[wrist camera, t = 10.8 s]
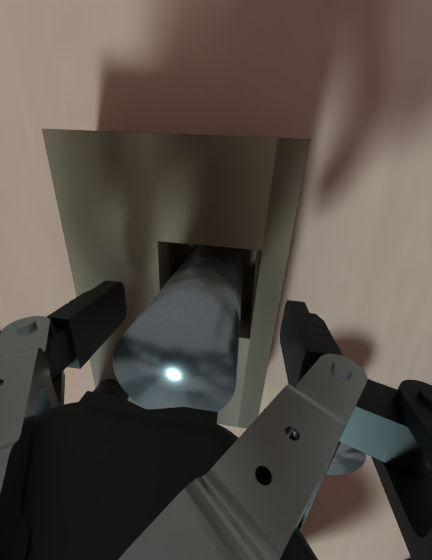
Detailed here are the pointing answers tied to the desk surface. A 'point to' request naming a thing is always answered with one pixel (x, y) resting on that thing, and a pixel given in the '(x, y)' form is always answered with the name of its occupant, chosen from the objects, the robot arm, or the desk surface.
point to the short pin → (346, 460)
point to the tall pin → (186, 336)
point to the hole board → (178, 227)
